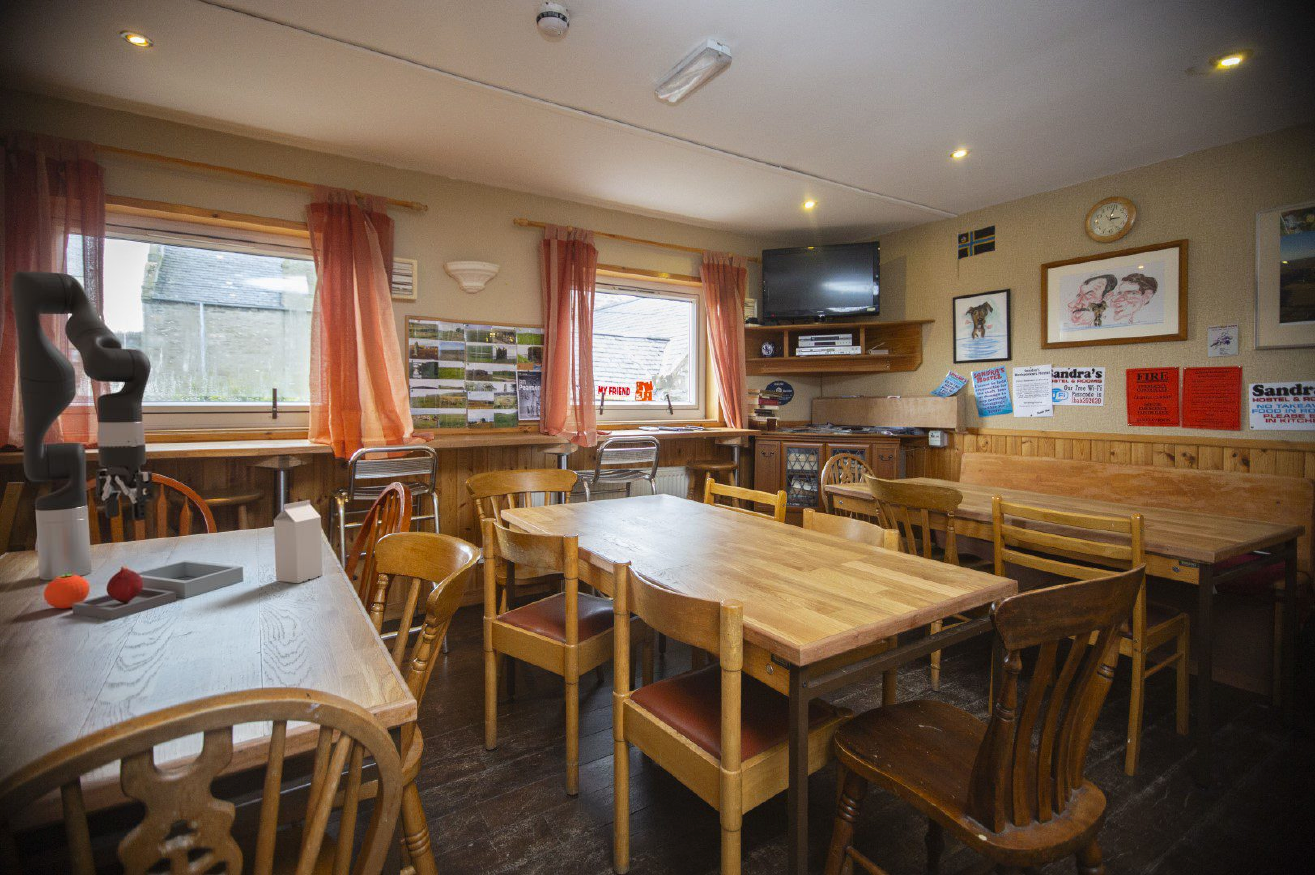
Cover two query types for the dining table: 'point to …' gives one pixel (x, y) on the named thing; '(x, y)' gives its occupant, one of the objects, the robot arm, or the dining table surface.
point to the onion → (124, 585)
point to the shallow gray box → (207, 572)
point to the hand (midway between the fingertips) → (126, 518)
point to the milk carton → (298, 543)
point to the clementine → (66, 591)
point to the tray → (123, 604)
